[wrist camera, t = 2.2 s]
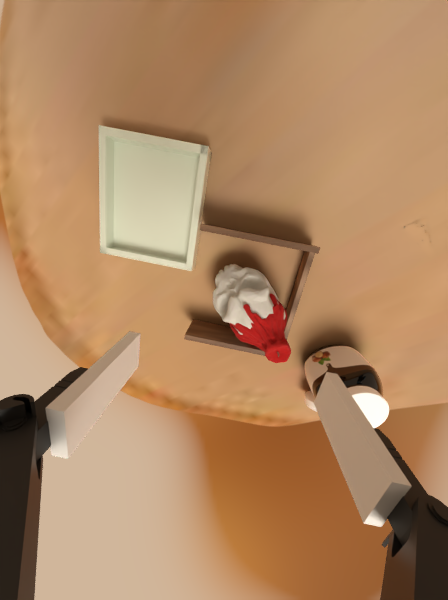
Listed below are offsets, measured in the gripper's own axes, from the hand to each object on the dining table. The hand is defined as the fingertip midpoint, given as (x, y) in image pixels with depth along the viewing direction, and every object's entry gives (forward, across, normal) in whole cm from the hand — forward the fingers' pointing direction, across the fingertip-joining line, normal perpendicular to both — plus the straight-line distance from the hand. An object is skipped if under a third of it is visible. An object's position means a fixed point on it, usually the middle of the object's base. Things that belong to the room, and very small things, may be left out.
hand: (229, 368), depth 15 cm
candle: (+23, 0, 0) cm, 23 cm away
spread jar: (+23, +20, -13) cm, 33 cm away
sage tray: (+23, -15, +10) cm, 29 cm away
